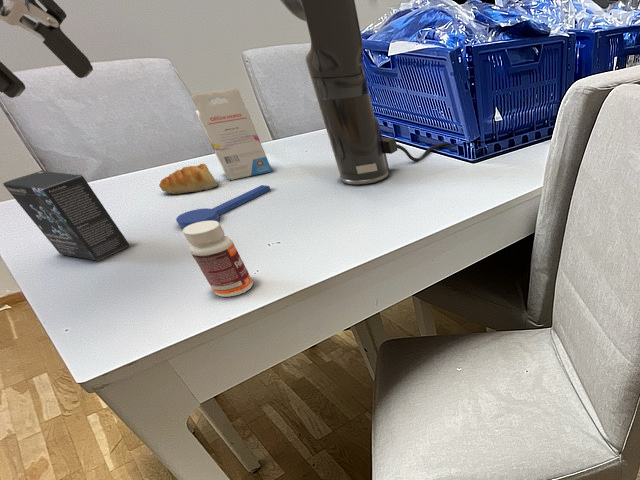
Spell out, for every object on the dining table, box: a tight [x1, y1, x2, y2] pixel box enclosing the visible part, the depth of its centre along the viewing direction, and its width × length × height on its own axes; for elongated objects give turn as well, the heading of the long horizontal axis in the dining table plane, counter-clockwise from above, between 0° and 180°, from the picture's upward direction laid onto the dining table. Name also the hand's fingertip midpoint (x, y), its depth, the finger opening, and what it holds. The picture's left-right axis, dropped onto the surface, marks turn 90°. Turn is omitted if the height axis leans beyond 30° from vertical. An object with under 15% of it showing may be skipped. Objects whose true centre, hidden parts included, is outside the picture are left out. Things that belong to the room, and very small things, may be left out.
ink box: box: [191, 88, 273, 181], centre depth 89 cm, size 8×5×15 cm, turn 127°
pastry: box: [158, 163, 218, 195], centre depth 87 cm, size 9×7×4 cm
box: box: [2, 169, 130, 262], centre depth 65 cm, size 8×6×11 cm
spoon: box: [175, 184, 271, 230], centre depth 80 cm, size 19×6×1 cm, turn 162°
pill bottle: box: [182, 221, 254, 298], centre depth 57 cm, size 5×5×8 cm
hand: (55, 83), depth 46 cm, fingers open, 8 cm apart
